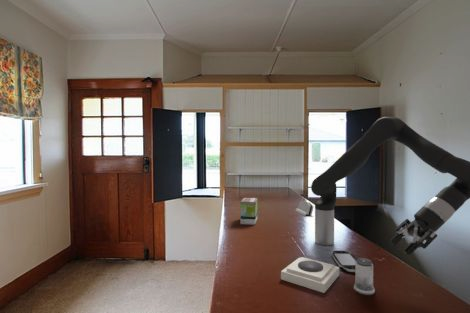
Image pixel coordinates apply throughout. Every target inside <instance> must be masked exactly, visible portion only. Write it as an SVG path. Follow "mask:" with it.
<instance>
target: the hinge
mask: <svg viewBox="0 0 470 313" xmlns="http://www.w3.org/2000/svg"><path fill="white" fill-rule="evenodd" d="M313 211H314V205H313V204H312V203H311V202H308V201H307V200H301V201H299V203H298V206H297V208H295V213H298V214H300V215H302V216H304V217H306V216H310V217H311V216H312V215H313Z"/></svg>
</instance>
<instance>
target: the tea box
mask: <svg viewBox="0 0 470 313" xmlns="http://www.w3.org/2000/svg"><path fill="white" fill-rule="evenodd" d="M257 221H258V198H257V197H243V198H242V199H241V201H240V225H251V226H253V225H256V223H257Z"/></svg>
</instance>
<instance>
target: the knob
mask: <svg viewBox="0 0 470 313" xmlns="http://www.w3.org/2000/svg"><path fill="white" fill-rule="evenodd" d="M354 274H355V277H354V279H355V282H354V284H353V290H354V292H356V293H358V294H361V295H365V296H372V295H375V293H376V289H375V287H374V263H373V261H372V260H371V259H368V258H366V257H365V258H364V257H358V258H357V261H356V262H355V273H354Z"/></svg>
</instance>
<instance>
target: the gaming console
mask: <svg viewBox="0 0 470 313" xmlns="http://www.w3.org/2000/svg"><path fill="white" fill-rule="evenodd" d="M331 256H332V259H333V260H334V261H335V263H336V264H337V265H338V267H339V269H340V270H342V271H343V272H346V273H348V274H349V273H351V274H355V262H356V261H357V259H358V258H357V256H355V255H354V254H353V253H352V252H350V251H347V250H333V251H332V253H331Z"/></svg>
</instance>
